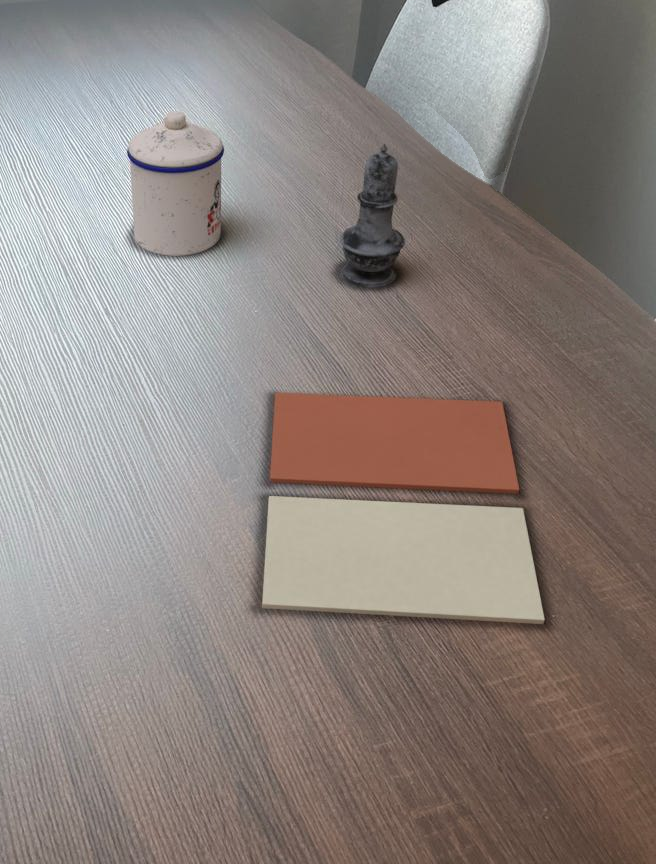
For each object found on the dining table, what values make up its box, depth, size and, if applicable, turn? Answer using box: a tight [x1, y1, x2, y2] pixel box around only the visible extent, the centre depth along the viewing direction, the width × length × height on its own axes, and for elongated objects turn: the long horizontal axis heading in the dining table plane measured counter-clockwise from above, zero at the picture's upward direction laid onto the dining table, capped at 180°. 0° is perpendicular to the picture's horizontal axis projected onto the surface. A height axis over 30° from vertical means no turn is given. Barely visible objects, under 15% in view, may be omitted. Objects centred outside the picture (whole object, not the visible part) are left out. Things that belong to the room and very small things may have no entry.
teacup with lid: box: [126, 110, 225, 257], centre depth 99 cm, size 12×9×12 cm
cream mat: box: [261, 495, 546, 625], centre depth 70 cm, size 18×11×1 cm, turn 84°
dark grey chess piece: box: [339, 143, 406, 289], centre depth 92 cm, size 6×6×12 cm
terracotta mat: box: [269, 392, 520, 495], centre depth 79 cm, size 18×11×1 cm, turn 84°
